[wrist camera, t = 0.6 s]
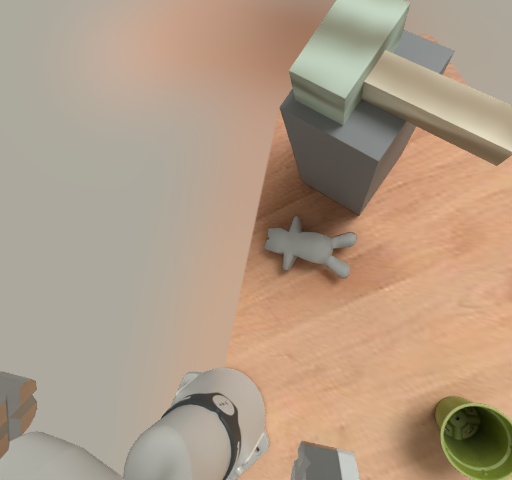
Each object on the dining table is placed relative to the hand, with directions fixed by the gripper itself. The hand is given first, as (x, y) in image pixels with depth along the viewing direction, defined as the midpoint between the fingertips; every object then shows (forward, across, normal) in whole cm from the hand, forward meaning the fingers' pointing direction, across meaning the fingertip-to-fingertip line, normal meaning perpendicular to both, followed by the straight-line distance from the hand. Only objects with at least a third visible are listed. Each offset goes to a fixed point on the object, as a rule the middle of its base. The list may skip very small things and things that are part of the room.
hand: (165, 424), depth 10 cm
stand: (+54, +14, +6) cm, 56 cm away
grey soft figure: (+49, +10, -9) cm, 51 cm away
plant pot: (+35, +36, -26) cm, 57 cm away
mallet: (+29, +13, +14) cm, 35 cm away
